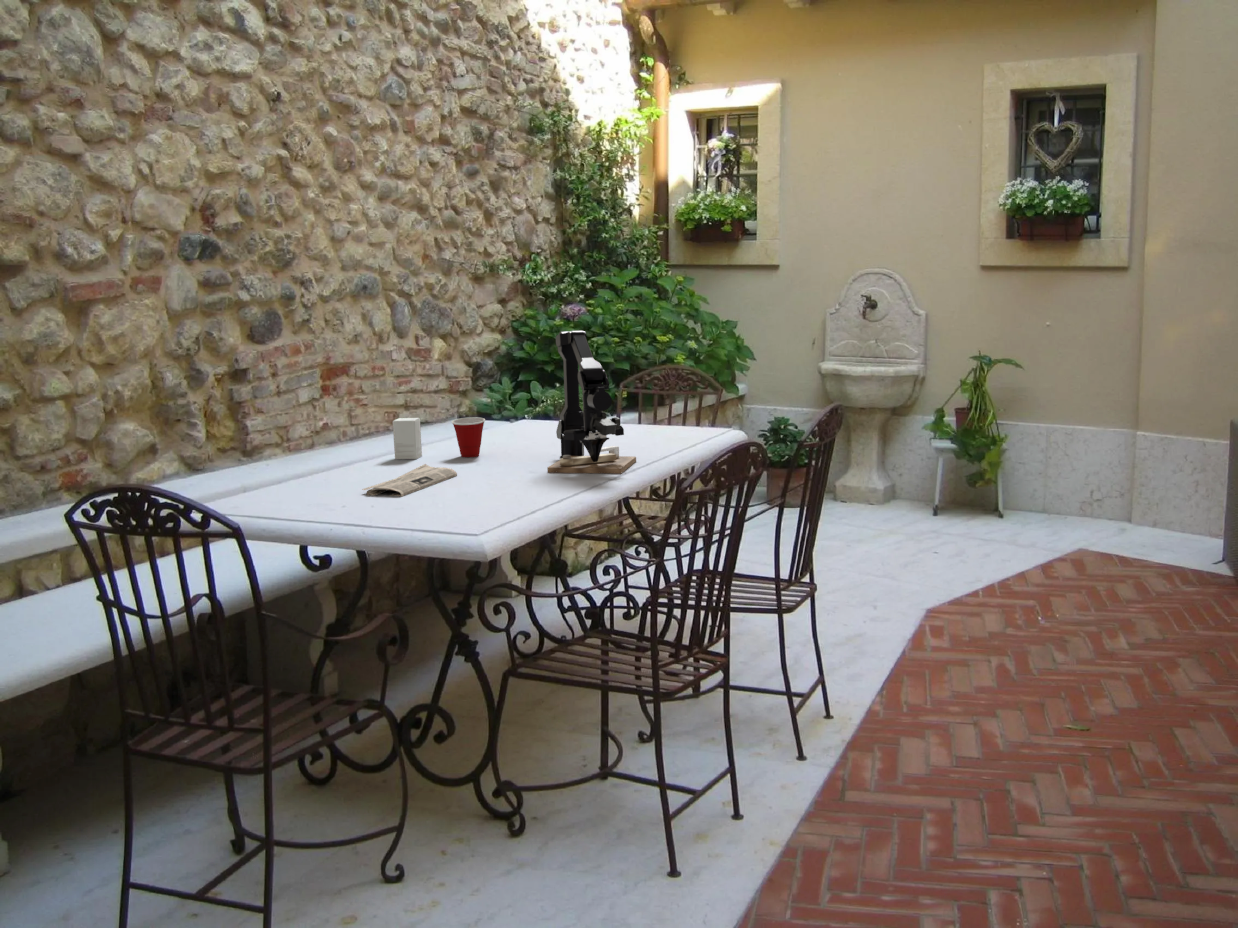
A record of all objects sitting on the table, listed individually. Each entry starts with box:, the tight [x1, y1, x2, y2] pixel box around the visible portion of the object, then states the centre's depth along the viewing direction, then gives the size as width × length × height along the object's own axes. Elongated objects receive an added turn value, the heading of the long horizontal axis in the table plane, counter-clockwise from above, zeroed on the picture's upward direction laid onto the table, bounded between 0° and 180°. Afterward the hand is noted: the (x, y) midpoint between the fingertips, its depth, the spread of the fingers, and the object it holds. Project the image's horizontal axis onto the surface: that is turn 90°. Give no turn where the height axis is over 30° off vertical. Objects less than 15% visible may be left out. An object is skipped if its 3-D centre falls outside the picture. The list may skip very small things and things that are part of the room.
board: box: [547, 455, 637, 474], centre depth 354 cm, size 22×23×2 cm
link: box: [559, 452, 616, 466], centre depth 350 cm, size 18×4×3 cm, turn 120°
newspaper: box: [361, 463, 458, 498], centre depth 328 cm, size 35×12×4 cm, turn 162°
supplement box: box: [392, 417, 423, 460], centre depth 378 cm, size 7×7×13 cm
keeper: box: [600, 445, 620, 458], centre depth 359 cm, size 8×2×3 cm, turn 136°
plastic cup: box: [451, 416, 486, 458], centre depth 379 cm, size 11×11×12 cm
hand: (595, 461), depth 349 cm, fingers closed
